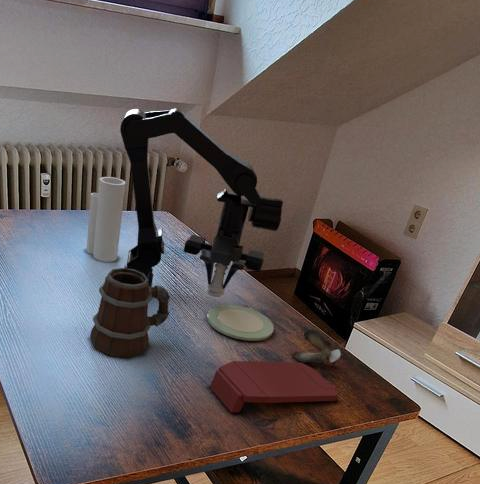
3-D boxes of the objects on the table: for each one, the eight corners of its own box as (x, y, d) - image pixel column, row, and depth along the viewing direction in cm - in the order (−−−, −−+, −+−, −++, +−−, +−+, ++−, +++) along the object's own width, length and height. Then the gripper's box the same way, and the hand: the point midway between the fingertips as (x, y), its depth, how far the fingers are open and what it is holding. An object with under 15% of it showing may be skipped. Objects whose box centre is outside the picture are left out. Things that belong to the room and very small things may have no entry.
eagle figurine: (335, 351, 122) (299, 335, 122) (351, 337, 115) (313, 320, 115) (326, 379, 119) (290, 363, 119) (342, 367, 113) (303, 350, 112)
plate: (231, 346, 118) (233, 341, 117) (193, 312, 129) (195, 307, 128) (286, 337, 126) (287, 332, 125) (246, 306, 136) (247, 301, 135)
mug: (99, 359, 106) (106, 290, 97) (85, 329, 114) (91, 262, 105) (172, 356, 111) (186, 289, 102) (154, 327, 120) (165, 263, 111)
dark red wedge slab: (296, 381, 118) (204, 381, 105) (306, 362, 115) (213, 360, 102) (331, 414, 110) (236, 419, 97) (343, 395, 107) (247, 397, 94)
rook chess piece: (204, 288, 134) (211, 258, 129) (221, 290, 135) (229, 260, 130) (207, 296, 131) (214, 265, 126) (224, 298, 132) (232, 267, 127)
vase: (121, 261, 146) (130, 185, 134) (97, 262, 143) (104, 184, 131) (104, 244, 153) (111, 171, 141) (80, 246, 150) (86, 170, 138)
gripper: (184, 222, 117) (172, 288, 126) (267, 243, 115) (248, 309, 124) (195, 209, 126) (183, 272, 135) (272, 229, 124) (254, 291, 133)
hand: (216, 286), depth 132 cm, fingers closed on rook chess piece, 3 cm apart
